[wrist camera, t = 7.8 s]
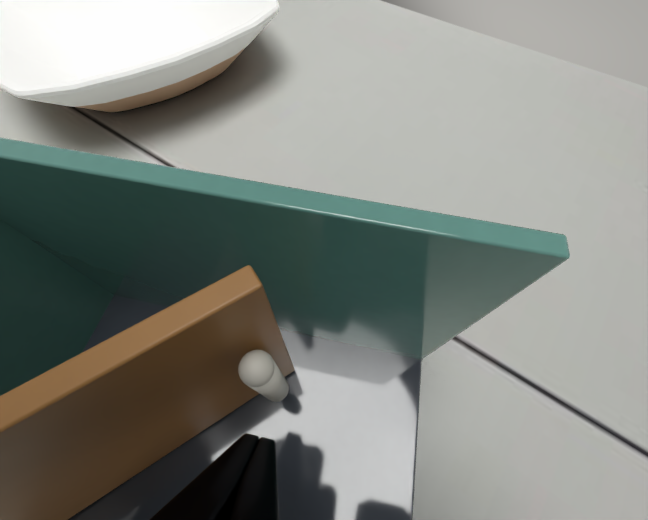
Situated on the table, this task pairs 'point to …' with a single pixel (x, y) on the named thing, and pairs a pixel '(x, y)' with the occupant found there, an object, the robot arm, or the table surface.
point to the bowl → (121, 48)
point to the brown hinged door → (137, 398)
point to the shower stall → (285, 300)
